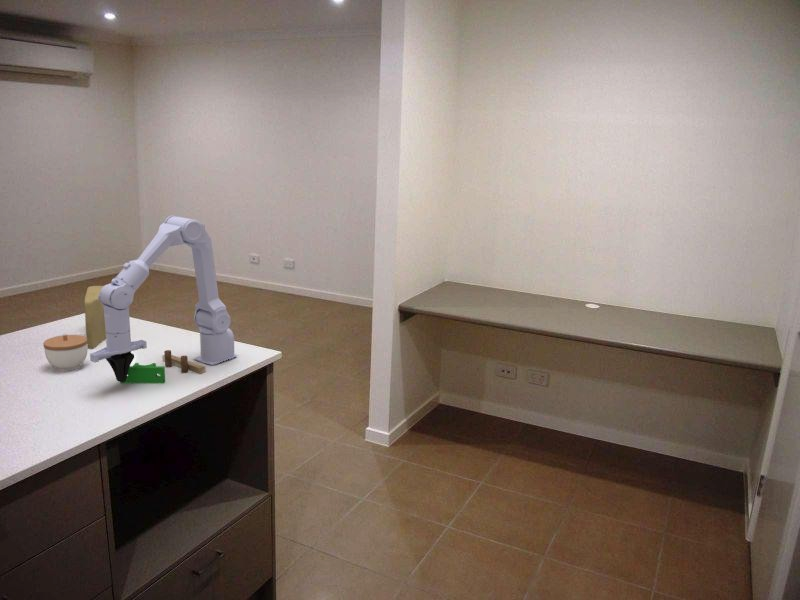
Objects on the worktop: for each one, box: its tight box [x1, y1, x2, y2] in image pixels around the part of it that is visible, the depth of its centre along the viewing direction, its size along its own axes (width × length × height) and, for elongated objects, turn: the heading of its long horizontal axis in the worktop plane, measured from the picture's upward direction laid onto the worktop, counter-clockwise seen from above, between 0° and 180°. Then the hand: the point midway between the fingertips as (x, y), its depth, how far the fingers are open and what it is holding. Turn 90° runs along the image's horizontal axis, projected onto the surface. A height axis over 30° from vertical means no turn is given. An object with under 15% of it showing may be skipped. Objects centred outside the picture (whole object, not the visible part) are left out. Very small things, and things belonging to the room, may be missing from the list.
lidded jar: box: [42, 333, 89, 371], centre depth 168 cm, size 11×11×9 cm
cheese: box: [83, 285, 106, 349], centre depth 192 cm, size 22×10×15 cm, turn 14°
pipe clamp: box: [119, 362, 166, 384], centre depth 162 cm, size 11×4×5 cm, turn 96°
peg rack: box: [161, 349, 206, 375], centre depth 172 cm, size 4×16×4 cm, turn 58°
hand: (121, 380), depth 157 cm, fingers closed
